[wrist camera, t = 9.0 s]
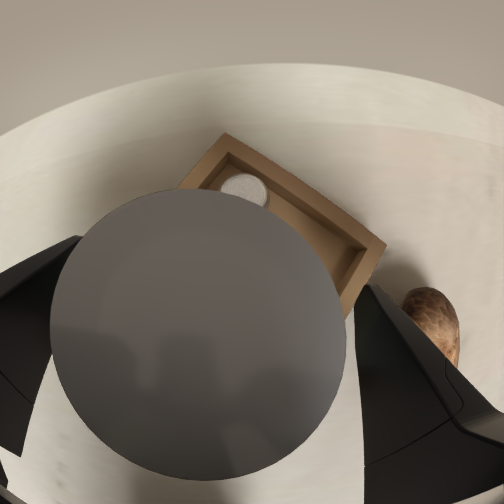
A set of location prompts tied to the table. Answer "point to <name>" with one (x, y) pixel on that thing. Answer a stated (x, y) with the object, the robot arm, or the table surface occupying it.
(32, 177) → the table surface
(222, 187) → the ball
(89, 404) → the disc
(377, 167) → the table surface
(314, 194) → the tray
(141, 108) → the table surface
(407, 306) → the mushroom
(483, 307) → the table surface
